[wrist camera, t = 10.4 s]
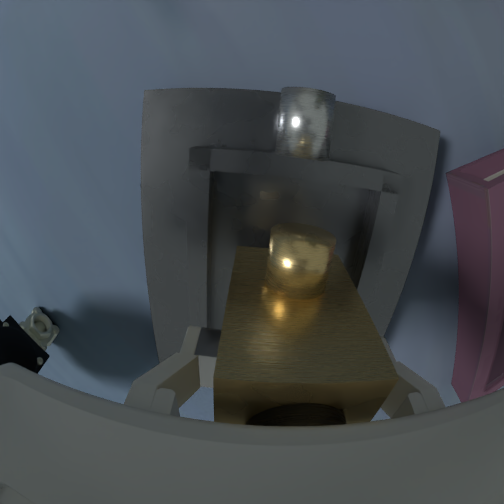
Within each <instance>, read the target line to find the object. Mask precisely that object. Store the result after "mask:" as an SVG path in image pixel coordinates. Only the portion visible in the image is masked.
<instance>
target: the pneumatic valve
mask: <svg viewBox="0 0 504 504" xmlns="http://www.w3.org/2000/svg"><path fill="white" fill-rule="evenodd" d="M58 333H59V328H58V327H57V326H56V325H52V321H51V320H50V319H49V317H48V316H46V315H45V314H44V313H42V311H41V309H40V308H38V307H35V308H34V309H33V311H32V313H31V315H29V316H28V318H27V319H26V321H25V322H21V323H20V324H18V323H17V322H16V321H15V320H14V319H13V318H12V316H11V315H10V316H9V317H8V318H7V319H6V320H5V321H4V322H2V321H1V320H0V365H3V364H6V363H15V364H18V365H20V366H22V367H24V368H26V369H28V370H30V371H32V372H34V373H36V374H38V372H39V371H40V369H41V368H42V366H43V365H44V364H45V362H46V361H47V359H48V358H49V355H48V354H47V353H46V352H45V350H46V349H47V346H50V345H51V343H52V342H53V340H54V339H55V337H56V336H57V335H58Z"/></svg>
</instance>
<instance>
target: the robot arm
mask: <svg viewBox="0 0 504 504" xmlns="http://www.w3.org/2000/svg"><path fill="white" fill-rule="evenodd" d="M220 336H221V330H220V329H213V328H205V327H197V326H189V327H188V329H187V332H186V335H185V338H184V341H183V344H182V347H181V350H180V353H175V354H173V355H172V356H170V357H169V358H167V359H166V360H164V361H163V362H161V363H160V364H158V365H157V366H155V367H154V368H152V369H151V370H149V371H148V372H146V373H145V374H143V375H142V376H140V377H139V378H137V379H136V380H134V381H133V383H132V386H131V388H130V390H129V393H128V395H127V398H126V400H125V402H124V404H121V403H117V402H113V401H110V400H107V399H103V398H100V397H97V396H94V395H91V394H88V393H85V392H82V391H79V390H76V389H73V388H71V387H68V386H65V385H63V384H60V383H58V382H55V381H53V380H50V379H48V378H45V377H43V376H41V375H39V374H36V373H34V372H32V371H30V370H28V369H26V368H24V367H22V366H20V365H18V364H15V363H6V364H3V365H0V504H504V388H503V389H500V390H497V391H495V392H492V393H490V394H487V395H484V396H481V397H478V398H475V399H472V400H469V401H466V402H462V403H459V404H455V405H452V406H448V407H445V405H444V403H443V401H442V399H441V397H440V395H439V392H438V390H437V388H436V387H434V386H433V385H431V384H430V383H429V382H427V381H426V380H424V379H423V378H422V377H420V376H419V375H417V374H416V373H415V372H413V371H412V370H410V369H409V368H408V367H406V366H405V365H403V364H402V363H401V362H396V360H395V358H394V355H393V353H392V351H391V349H390V347H389V345H388V343H387V341H386V339H385V337H383V336H380V337H381V339H382V341H383V344H384V346H385V348H386V350H387V352H388V354H389V357H390V359H391V361H392V363H393V365H394V368H395V370H396V372H397V375H398V377H399V380H398V381H397V383H396V385H395V386H394V388H393V389H392V391H391V392H390V394H389V395H388V397H387V398H386V400H385V401H384V403H383V404H382V406H381V408H382V409H383V410H384V411H385V412H386V414H387V415H388V416H389V417H390V418H391V419H385V420H379V421H371V422H363V423H353V424H342V425H326V426H259V425H243V424H231V423H221V422H212V421H205V420H197V419H191V418H185V417H180V414H179V409H178V408H179V407H181V406H182V405H183V404H184V403H185V402H186V401H187V400H188V399H189V398H190V397H191V396H192V395H193V394H194V393H195V392H196V391H197V390H198V389H199V388H200V386H201V387H210V388H213V376H214V370H215V365H216V359H217V353H218V347H219V342H220Z"/></svg>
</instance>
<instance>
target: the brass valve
mask: <svg viewBox="0 0 504 504" xmlns="http://www.w3.org/2000/svg"><path fill="white" fill-rule="evenodd" d="M335 245H336V238H335V236H334V235H333V234H331V233H330V232H328V231H326V230H324V229H322V228H319V227H316V226H312V225H308V224H301V223H282V224H278V225H275V226H273V227H272V228H271V233H270V242H269V248H258V247H247V246H237V249H236V254H235V259H234V265H233V270H232V275H231V281H230V286H229V291H228V297H227V302H226V308H225V313H224V319H223V325H222V330H221V336H220V342H219V347H218V353H217V359H216V365H215V370H214V376H213V389H214V422H221V423H231V424H243V425H259V426H326V425H342V424H353V423H363V422H370V421H371V420H372V418H373V417H374V416H375V414H376V413H377V411H378V410H379V409H380V407H381V406H382V404H383V403H384V401H385V400H386V398H387V397H388V395H389V394H390V392H391V391H392V389H393V388H394V386H395V385H396V383H397V381H398V380H399V377H398V375H397V372H396V370H395V368H394V365H393V363H392V361H391V359H390V357H389V354H388V352H387V350H386V348H385V346H384V344H383V341H382V339H381V337H380V335H379V333H378V331H377V329H376V327H375V325H374V323H373V321H372V319H371V317H370V315H369V313H368V311H367V309H366V307H365V305H364V303H363V301H362V299H361V297H360V295H359V293H358V291H357V289H356V287H355V286H354V284H353V282H352V280H351V278H350V276H349V274H348V272H347V271H346V269H345V267H344V265H343V263H342V261H341V260H340V258H339V256H338V255H335V254H334V250H335Z"/></svg>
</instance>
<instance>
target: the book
mask: <svg viewBox="0 0 504 504" xmlns="http://www.w3.org/2000/svg"><path fill="white" fill-rule="evenodd" d="M446 176H447V181H448V186H449V191H450V197H451V203H452V209H453V216H454V224H455V232H456V243H457V255H458V275H459V312H458V332H457V344H456V354H455V363H454V370H453V377H452V383H451V384H452V386H453V388H454V389H455V391H456V393H457V395H458V397H459V399H460V401H461V403H462V402H466V401H469V400H472V399H475V398H478V397H481V396H484V395H487V394H490V393H492V392H495V391H496V390H498V389H499V388H500V387H502V386H503V385H504V149H502V150H499V151H497V152H494V153H492V154H490V155H487V156H485V157H483V158H480V159H478V160H476V161H473V162H471V163H468V164H466V165H464V166H461V167H459V168H457V169H454V170H452V171H449V172H447V173H446Z"/></svg>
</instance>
